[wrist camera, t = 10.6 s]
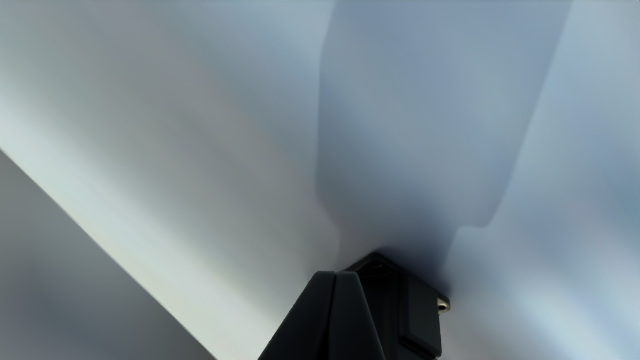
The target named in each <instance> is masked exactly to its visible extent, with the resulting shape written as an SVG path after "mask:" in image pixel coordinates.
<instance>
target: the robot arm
mask: <svg viewBox="0 0 640 360" xmlns="http://www.w3.org/2000/svg"><path fill="white" fill-rule="evenodd" d="M448 310H450V301H449V299H448V298H446V297H445V296H443V295H442V294H440V293H439V292H437V291H436V290H434V289H433V288H431V287H430V286H428V285H426V284H425V283H423V282H422V281H420V280H419V279H417V278H416V277H414V276H413V275H411V274H410V273H408V272H407V271H405V270H404V269H402V268H401V267H399V266H398V265H396V264H395V263H393V262H392V261H390V260H389V259H387V258H386V257H384V256H383V255H381V254H378V253H373V254H370V255H369V256H367V257H366V258H364V259H363V260H361V261H360V262H358V263H357V264H355V265H354V266H352V267H351V268H349V269H348V270H346V271H345V272H338V273H337V274H336V272H334V271H317V272H316V273H315V274H314V275H313V277H312V278H311V280H310V281H309V283H308V284H307V286H306V287H305V289H304V290H303V292H302V293H301V295H300V296H299V298H298V299H297V301H296V302H295V304H294V305H293V307H292V308H291V310H290V311H289V313H288V314H287V316H286V317H285V319H284V320H283V322H282V323H281V325H280V326H279V328H278V329H277V331H276V332H275V334H274V335H273V337H272V338H271V340H270V341H269V343H268V344H267V346H266V348H265V349H264V351H263V352H262V354H261V355H260V357H259V358H258V360H437V358H439V357H440V356H441V353H442V347H441V335H440V323H439V315H441V314H443V313H445V312H447V311H448Z"/></svg>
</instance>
